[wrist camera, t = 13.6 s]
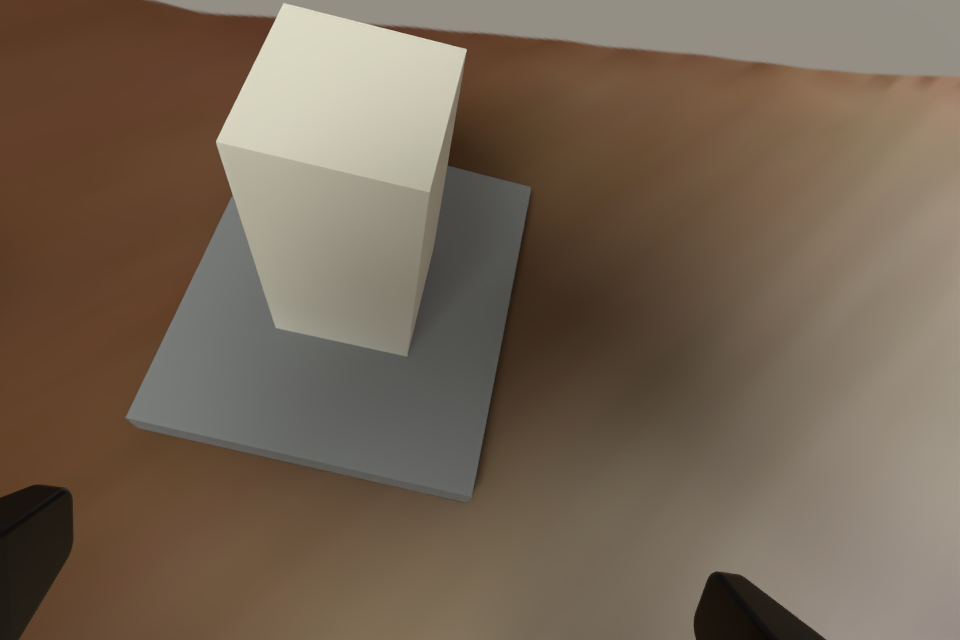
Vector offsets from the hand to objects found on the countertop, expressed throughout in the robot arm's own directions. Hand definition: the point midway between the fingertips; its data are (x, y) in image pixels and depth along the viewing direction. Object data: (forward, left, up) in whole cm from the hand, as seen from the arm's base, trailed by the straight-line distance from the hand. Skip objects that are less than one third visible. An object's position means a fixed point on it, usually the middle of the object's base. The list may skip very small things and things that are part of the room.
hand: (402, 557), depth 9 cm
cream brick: (+4, -11, -12) cm, 17 cm away
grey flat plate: (+4, -11, -14) cm, 18 cm away
